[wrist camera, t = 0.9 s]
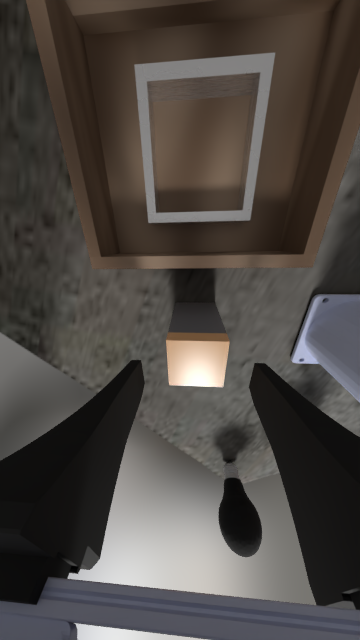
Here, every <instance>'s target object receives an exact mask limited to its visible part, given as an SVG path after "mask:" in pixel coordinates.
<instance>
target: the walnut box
mask: <svg viewBox="0 0 360 640" xmlns="http://www.w3.org/2000/svg"><path fill="white" fill-rule="evenodd" d="M26 2H27V6H28V10H29V14H30V18H31V22H32V26H33V30H34V34H35V38H36V42H37V46H38V50H39V54H40V58H41V62H42V66H43V70H44V75H45V79H46V83H47V87H48V91H49V95H50V99H51V103H52V107H53V111H54V115H55V119H56V123H57V127H58V131H59V135H60V139H61V143H62V147H63V151H64V155H65V159H66V163H67V168H68V172H69V176H70V180H71V184H72V188H73V192H74V196H75V200H76V204H77V208H78V212H79V216H80V220H81V224H82V228H83V232H84V236H85V240H86V244H87V248H88V252H89V256H90V260H91V265H92V269H162V268H296V267H313V264H314V261H315V258H316V255H317V252H318V249H319V246H320V243H321V240H322V237H323V234H324V231H325V228H326V225H327V222H328V219H329V216H330V213H331V210H332V207H333V204H334V201H335V198H336V195H337V192H338V189H339V186H340V183H341V180H342V177H343V174H344V171H345V168H346V165H347V162H348V159H349V156H350V153H351V150H352V147H353V144H354V141H355V138H356V135H357V132H358V129H359V126H360V0H26ZM264 53H275V58H274V65H273V71H272V78H271V85H270V91H269V98H268V105H267V111H266V118H265V125H264V131H263V138H262V145H261V151H260V158H259V165H258V171H257V178H256V185H255V191H254V198H253V204H252V211H251V218H250V221H247V222H239V223H197V224H156V225H153V224H150V223H148V212H147V201H146V190H145V179H144V167H143V156H142V145H141V134H140V122H139V111H138V100H137V89H136V77H135V66H134V65H136V64H147V63H159V62H171V61H182V60H194V59H205V58H217V57H229V56H240V55H252V54H264ZM250 100H251V95H246V96H232V97H218V98H204V99H190V100H176V101H162V102H153V116H154V133H155V149H156V165H157V182H158V198H159V213H169V212H204V211H237V210H238V202H239V193H240V185H241V176H242V168H243V159H244V151H245V142H246V134H247V125H248V117H249V108H250Z"/></svg>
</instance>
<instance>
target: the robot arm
mask: <svg viewBox="0 0 360 640" xmlns="http://www.w3.org/2000/svg"><path fill="white" fill-rule="evenodd" d="M325 298H326V299H325ZM323 299H325V301H323ZM301 358H302V359H301ZM291 361H292V362H293V363H309V364H320V365H322V366H323V367H324V368H325V369H326V370H327V371H328V372H329V373H330V374H331V375H332V376H333V377H334V378H335V379H336V380H337V381H338V382H339V383H340V384H341V385H342V386H343V387H344V388H345V389H346V390H347V391H348V392H349V393H350V394H351V395H352V396H354V397H355V398H356V399H357V400H358V401H359V402H360V294H318V295H315V296H314V297H313V298H312V300H311V303H310V306H309V309H308V311H307V314H306V317H305V320H304V323H303V325H302V328H301V331H300V334H299V336H298V339H297V342H296V345H295V347H294V350H293V353H292V356H291ZM144 384H145V383H144V376H143V370H142V364H141V360H131V361H130V362H129V363H128V364H127V365H126V366H125V367H124V369H123V370H122V371H121V372H120V373H119V374H118V375H117V376H116V377H115V378H114V379H113V380H112V381H111V382H110V383H109V384H108V385H107V386H105V387H104V388H103V389H102V390H101V391H100V392H99V393H98V394H97V395H96V396H94V397H93V398H92V399H91V400H90V401H89V402H87V403H86V404H85V405H84V406H83V407H81V408H80V409H79V410H78V411H76V412H75V413H74V414H72V415H71V416H70V417H68V418H67V419H66V420H64V421H63V422H61V423H60V424H58V425H57V426H55V427H54V428H53V429H51V430H50V431H48V432H47V433H45V434H44V435H42V436H41V437H39V438H38V439H36V440H34V441H33V442H31V443H30V444H28V445H26V446H25V447H23V448H22V449H20V450H18V451H17V452H15V453H13V454H12V455H10V456H8V457H6V458H5V459H3V460H1V461H0V640H77V628H76V625H75V624H74V623H79V624H87V625H95V626H103V627H112V628H120V629H128V630H136V631H144V632H152V633H160V634H168V635H177V636H185V637H193V638H201V639H210V640H360V437H358V436H356V435H355V434H353V433H352V432H350V431H349V430H347V429H346V428H344V427H343V426H342V425H340V424H339V423H337V422H336V421H335V420H333V419H332V418H330V417H329V416H328V415H326V414H325V413H323V412H322V411H321V410H319V409H318V408H317V407H316V406H314V405H313V404H312V403H310V402H309V401H308V400H307V399H305V398H304V397H303V396H302V395H301V394H299V393H298V392H297V391H296V390H295V389H293V388H292V387H291V386H290V385H289V384H288V383H286V382H285V381H284V380H283V379H282V378H281V377H280V376H279V375H277V374H276V373H275V372H274V371H273V370H272V369H271V368H270V367H268V366H267V365H266V364H265V363H255V364H254V368H253V372H252V377H251V381H250V385H249V388H250V392H251V396H252V399H253V403H254V406H255V408H256V411H257V413H258V415H259V418H260V420H261V423H262V425H263V428H264V430H265V433H266V435H267V437H268V440H269V442H270V445H271V448H272V450H273V453H274V456H275V459H276V462H277V465H278V469H279V472H280V475H281V478H282V482H283V485H284V488H285V492H286V495H287V499H288V502H289V506H290V509H291V513H292V516H293V520H294V524H295V528H296V531H297V535H298V539H299V543H300V547H301V551H302V555H303V559H304V563H305V567H306V571H307V576H308V580H309V584H310V587H311V590H312V593H313V596H314V598H315V601H316V604H317V605H307V604H299V603H289V602H279V601H270V600H261V599H251V598H242V597H232V596H222V595H214V594H205V593H195V592H186V591H177V590H167V589H158V588H148V587H139V586H129V585H119V584H111V583H101V582H92V581H83V580H72V579H67V577H68V575H69V573H76V574H78V572H79V570H80V569H87V570H90V569H91V568H92V567H93V566H94V565H95V564H96V563H97V561H98V560H99V559H100V555H101V550H102V545H103V541H104V536H105V530H106V526H107V521H108V516H109V512H110V507H111V503H112V498H113V494H114V489H115V485H116V481H117V477H118V473H119V468H120V464H121V461H122V457H123V453H124V449H125V445H126V442H127V438H128V435H129V432H130V430H131V427H132V424H133V421H134V418H135V415H136V412H137V410H138V407H139V404H140V401H141V397H142V393H143V388H144Z"/></svg>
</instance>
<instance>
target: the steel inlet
mask: <svg viewBox="0 0 360 640" xmlns="http://www.w3.org/2000/svg"><path fill="white" fill-rule="evenodd" d="M274 58H275V53H264V54H252V55H240V56H229V57H217V58H205V59H194V60H182V61H171V62H159V63H147V64H136V65H134V66H135V77H136V89H137V100H138V111H139V122H140V134H141V145H142V156H143V167H144V179H145V190H146V201H147V212H148V223H150V224H153V225H156V224H197V223H239V222H247V221H250V218H251V211H252V204H253V198H254V191H255V185H256V178H257V171H258V165H259V158H260V151H261V145H262V138H263V131H264V125H265V118H266V111H267V105H268V98H269V91H270V85H271V78H272V71H273V65H274ZM246 95H251V100H250V108H249V117H248V125H247V134H246V142H245V151H244V159H243V168H242V176H241V185H240V193H239V202H238V210H237V211H204V212H169V213H159V198H158V182H157V165H156V149H155V133H154V116H153V102H162V101H176V100H190V99H204V98H218V97H232V96H246Z"/></svg>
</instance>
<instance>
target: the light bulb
mask: <svg viewBox="0 0 360 640" xmlns="http://www.w3.org/2000/svg"><path fill="white" fill-rule="evenodd" d="M223 470H224V477H225V480H224V495H223V499H222V502H221V504H220V507H219V525H220V529H221V532H222V535H223V537H224V539H225V541H226V543H227V545H228V546H229V547H230V548H231V550H232V551H234V552H235V553H236V554H238V555H240V556H242V557H250V556H252V555H254V554H255V553H256V552H257V551H258V549H259V546H260V544H261V539H262V527H261V522H260V518H259V515H258V512H257V511H256V508H255V507H254V505H253V504H252V502H251V501H250V500H249V498H248V497H247V495H246V493H245V491H244V488H243V485H242V483H241V480H240V479H239V475H238V470H237V466H236V465H235V464H233V463H232V462H231V461H228V462H227V463H226V464H225V465H224V467H223Z"/></svg>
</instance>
